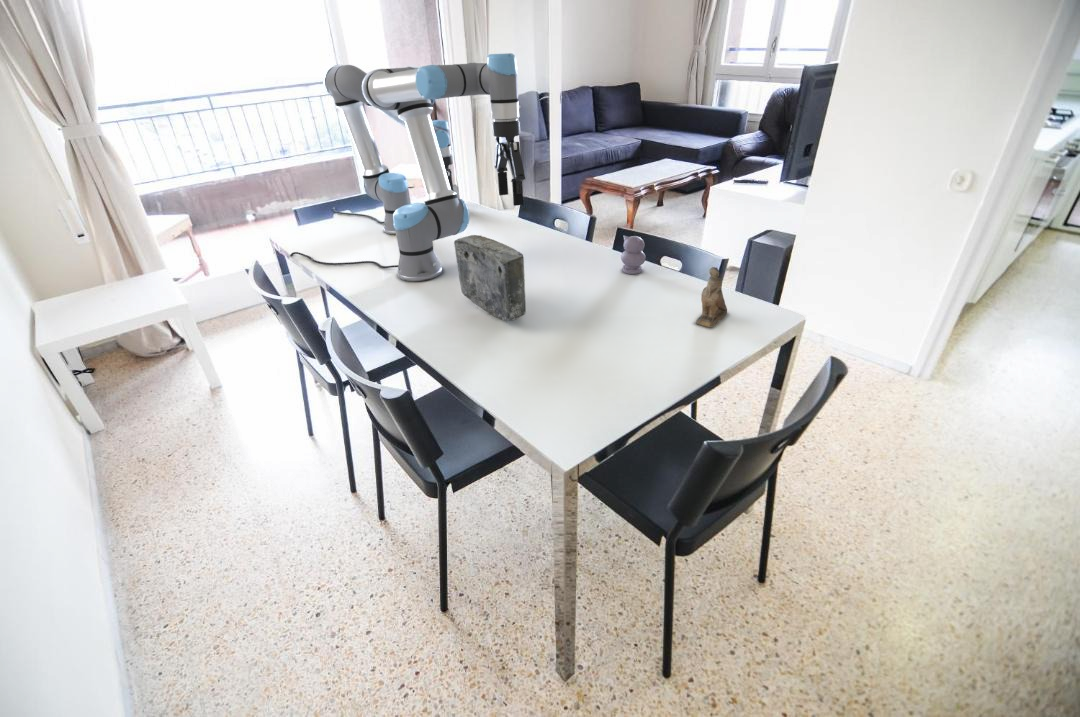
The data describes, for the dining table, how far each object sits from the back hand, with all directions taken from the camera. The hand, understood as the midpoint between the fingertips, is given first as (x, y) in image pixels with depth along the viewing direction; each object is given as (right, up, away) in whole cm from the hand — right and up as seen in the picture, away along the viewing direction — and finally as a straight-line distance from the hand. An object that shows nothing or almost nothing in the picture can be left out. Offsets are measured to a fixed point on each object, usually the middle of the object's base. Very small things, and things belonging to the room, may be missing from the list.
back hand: (450, 204), depth 249 cm
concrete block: (+32, -63, -101) cm, 123 cm away
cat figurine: (+77, -47, -77) cm, 119 cm away
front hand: (+37, -31, -103) cm, 114 cm away
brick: (0, -2, +1) cm, 2 cm away
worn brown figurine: (+93, -66, -109) cm, 158 cm away
